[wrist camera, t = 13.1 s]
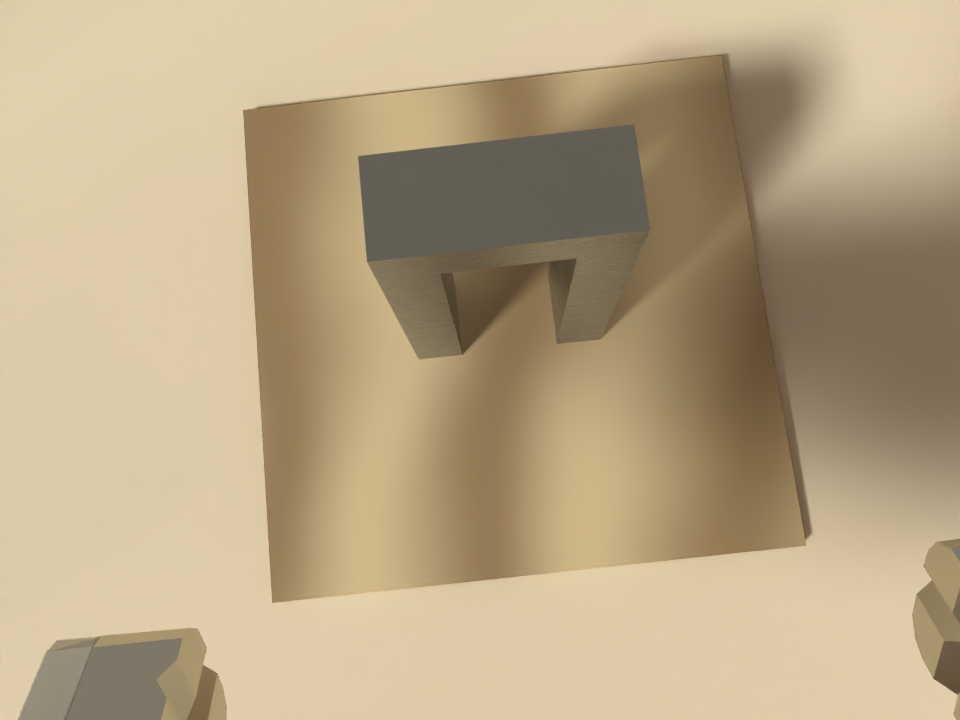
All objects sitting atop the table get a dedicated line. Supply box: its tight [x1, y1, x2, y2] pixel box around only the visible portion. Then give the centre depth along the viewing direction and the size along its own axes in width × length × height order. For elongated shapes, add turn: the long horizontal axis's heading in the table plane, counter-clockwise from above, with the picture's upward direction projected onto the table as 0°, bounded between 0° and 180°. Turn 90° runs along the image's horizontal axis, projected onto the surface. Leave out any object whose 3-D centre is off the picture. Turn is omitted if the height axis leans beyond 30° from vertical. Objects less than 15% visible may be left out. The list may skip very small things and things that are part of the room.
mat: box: [243, 55, 806, 603], centre depth 25 cm, size 14×14×1 cm
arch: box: [358, 124, 650, 360], centre depth 20 cm, size 5×2×9 cm, turn 96°
